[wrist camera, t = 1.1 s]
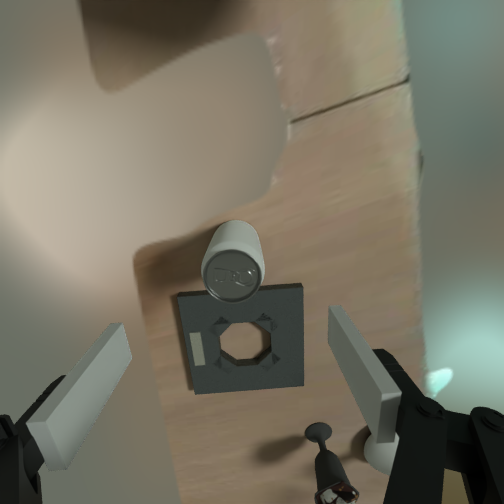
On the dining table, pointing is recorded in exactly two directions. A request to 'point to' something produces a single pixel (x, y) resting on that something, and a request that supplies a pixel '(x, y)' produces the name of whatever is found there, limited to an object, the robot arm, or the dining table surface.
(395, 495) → the robot arm
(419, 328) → the dining table surface
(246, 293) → the can
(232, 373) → the socket plate
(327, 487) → the sundae
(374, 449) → the flower in vase
